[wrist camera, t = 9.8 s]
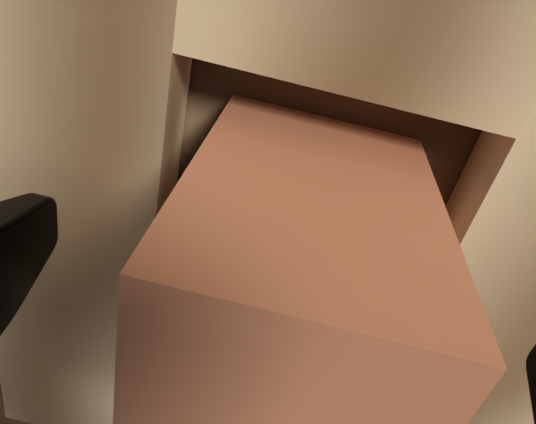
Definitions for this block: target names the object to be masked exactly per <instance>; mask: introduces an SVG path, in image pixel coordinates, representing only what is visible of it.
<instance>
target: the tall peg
mask: <svg viewBox="0 0 536 424" xmlns="http://www.w3.org/2000/svg"><path fill="white" fill-rule="evenodd" d="M506 370H507V368H506V365H505V363H504V360H503V357H502V355H501V352H500V349H499V347H498V344H497V341H496V339H495V336H494V334H493V331H492V328H491V326H490V323H489V320H488V318H487V315H486V312H485V310H484V307H483V304H482V302H481V299H480V297H479V294H478V291H477V289H476V286H475V283H474V281H473V278H472V275H471V273H470V270H469V268H468V265H467V262H466V260H465V257H464V254H463V252H462V249H461V246H460V244H459V241H458V238H457V236H456V233H455V231H454V228H453V225H452V223H451V220H450V217H449V215H448V212H447V209H446V207H445V204H444V202H443V199H442V196H441V194H440V191H439V188H438V186H437V183H436V180H435V178H434V175H433V172H432V170H431V167H430V165H429V162H428V159H427V157H426V154H425V151H424V149H423V146H422V143H421V141H420V140H418V139H414V138H410V137H406V136H401V135H397V134H393V133H389V132H385V131H381V130H377V129H373V128H369V127H365V126H361V125H356V124H352V123H348V122H344V121H340V120H336V119H332V118H328V117H324V116H320V115H316V114H312V113H307V112H303V111H299V110H295V109H291V108H287V107H283V106H279V105H275V104H271V103H267V102H262V101H258V100H254V99H250V98H246V97H242V96H238V95H234V94H233V96H232V97H231V99H230V100H229V102H228V104H227V105H226V107H225V108H224V110H223V111H222V113H221V115H220V116H219V118H218V119H217V121H216V122H215V124H214V126H213V127H212V129H211V130H210V132H209V134H208V135H207V137H206V138H205V140H204V141H203V143H202V145H201V146H200V148H199V149H198V151H197V152H196V154H195V156H194V157H193V159H192V160H191V162H190V163H189V165H188V167H187V168H186V170H185V171H184V173H183V175H182V176H181V178H180V179H179V181H178V182H177V184H176V186H175V187H174V189H173V190H172V192H171V193H170V195H169V197H168V198H167V200H166V201H165V203H164V204H163V206H162V208H161V209H160V211H159V212H158V214H157V216H156V217H155V219H154V220H153V222H152V223H151V225H150V227H149V228H148V230H147V231H146V233H145V234H144V236H143V238H142V239H141V241H140V242H139V244H138V245H137V247H136V249H135V250H134V252H133V253H132V255H131V257H130V258H129V260H128V261H127V263H126V264H125V266H124V268H123V269H122V271H121V272H120V274H119V296H118V318H117V340H116V362H115V384H114V406H113V424H468V423H469V421H470V420H471V418H472V417H473V416H474V414H475V413H476V412H477V410H478V409H479V407H480V406H481V405H482V403H483V402H484V400H485V399H486V398H487V396H488V395H489V393H490V392H491V391H492V389H493V388H494V387H495V385H496V384H497V382H498V381H499V380H500V378H501V377H502V375H503V374H504V373H505V371H506Z"/></svg>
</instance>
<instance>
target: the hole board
mask: <svg viewBox="0 0 536 424" xmlns="http://www.w3.org/2000/svg"><path fill="white" fill-rule="evenodd" d="M192 58H194V59H198V60H202V61H206V62H211V63H215V64H219V65H223V66H227V67H231V68H235V69H239V70H243V71H247V72H251V73H255V74H259V75H263V76H267V77H271V78H275V79H279V80H283V81H287V82H291V83H295V84H299V85H303V86H307V87H311V88H315V89H319V90H323V91H327V92H331V93H335V94H339V95H343V96H347V97H351V98H355V99H359V100H363V101H367V102H371V103H375V104H379V105H383V106H387V107H391V108H395V109H399V110H403V111H407V112H411V113H415V114H419V115H423V116H427V117H431V118H435V119H439V120H443V121H447V122H451V123H455V124H459V125H463V126H467V127H471V128H475V129H479V130H482V131H481V133H480V136H479V138H478V140H477V142H476V144H475V146H474V148H473V150H472V152H471V154H470V156H469V158H468V160H467V162H466V164H465V166H464V168H463V171H462V173H461V175H460V177H459V179H458V181H457V183H456V185H455V187H454V189H453V191H452V193H451V195H450V197H449V199H448V201H447V204H446V206H445V207H446V209H447V212H448V215H449V217H450V220H451V223H452V225H453V228H454V231H455V233H456V236H457V238H458V241H459V244H460V246H461V249H462V252H463V254H464V257H465V260H466V262H467V265H468V268H469V270H470V273H471V275H472V278H473V281H474V283H475V286H476V289H477V291H478V294H479V297H480V299H481V302H482V304H483V307H484V310H485V312H486V315H487V318H488V320H489V323H490V326H491V328H492V331H493V334H494V336H495V339H496V341H497V344H498V347H499V349H500V352H501V355H502V357H503V360H504V363H505V365H506V368H507V370H506V371H505V373H504V374H503V375H502V377H501V378H500V380H499V381H498V382H497V384H496V385H495V387H494V388H493V389H492V391H491V392H490V393H489V395H488V396H487V398H486V399H485V400H484V402H483V403H482V405H481V406H480V407H479V409H478V410H477V412H476V413H475V414H474V416H473V417H472V418H471V420H470V421H469V423H468V424H534V419H533V412H532V406H531V399H530V392H529V386H528V379H527V373H526V359H527V356H528V354H529V352H530V351H531V349H532V348H533V347H534V345H535V344H536V0H0V201H3V200H6V199H10V198H13V197H17V196H20V195H24V194H27V193H37V194H41V195H45V196H49V197H52V198H53V199H54V200H55V201H56V204H57V220H58V239H57V243H56V246H55V248H54V250H53V252H52V254H51V255H50V257H49V259H48V261H47V262H46V264H45V266H44V267H43V269H42V271H41V273H40V274H39V276H38V278H37V279H36V281H35V283H34V285H33V286H32V288H31V290H30V291H29V293H28V295H27V297H26V298H25V300H24V302H23V303H22V305H21V307H20V308H19V310H18V312H17V313H16V315H15V316H14V318H13V319H12V321H11V322H10V324H9V325H8V326H7V328H6V329H5V331H4V332H3V333H2V335H1V336H0V384H1V391H2V397H3V404H4V411H5V417H6V418H10V419H14V420H18V421H22V422H26V423H30V424H113V406H114V384H115V362H116V340H117V318H118V296H119V274H120V272H121V271H122V269H123V268H124V266H125V264H126V263H127V261H128V260H129V258H130V257H131V255H132V253H133V252H134V250H135V249H136V247H137V245H138V244H139V242H140V241H141V239H142V238H143V236H144V234H145V233H146V231H147V230H148V228H149V227H150V225H151V223H152V222H153V220H154V219H155V217H156V216H157V214H158V212H159V211H160V209H161V208H162V206H163V204H164V203H165V201H166V200H167V198H168V197H169V195H170V193H171V192H172V190H173V189H174V187H175V186H176V184H177V181H178V173H179V165H180V157H181V148H182V140H183V132H184V124H185V115H186V107H187V99H188V91H189V82H190V74H191V66H192Z"/></svg>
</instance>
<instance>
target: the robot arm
mask: <svg viewBox="0 0 536 424" xmlns="http://www.w3.org/2000/svg"><path fill="white" fill-rule="evenodd" d="M57 239H58V220H57V204H56V201H55V200H54V199H53V198H52V197H49V196H45V195H41V194H37V193H27V194H24V195H20V196H17V197H13V198H10V199H6V200H3V201H0V336H1V335H2V333H3V332H4V331H5V329H6V328H7V326H8V325H9V324H10V322H11V321H12V319H13V318H14V316H15V315H16V313H17V312H18V310H19V308H20V307H21V305H22V303H23V302H24V300H25V298H26V297H27V295H28V293H29V291H30V290H31V288H32V286H33V285H34V283H35V281H36V279H37V278H38V276H39V274H40V273H41V271H42V269H43V267H44V266H45V264H46V262H47V261H48V259H49V257H50V255H51V254H52V252H53V250H54V248H55V246H56V243H57ZM526 373H527V379H528V386H529V392H530V399H531V406H532V412H533V419H534V424H536V344H535V345H534V347H533V348H532V349H531V351H530V352H529V354H528V356H527V359H526Z"/></svg>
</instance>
